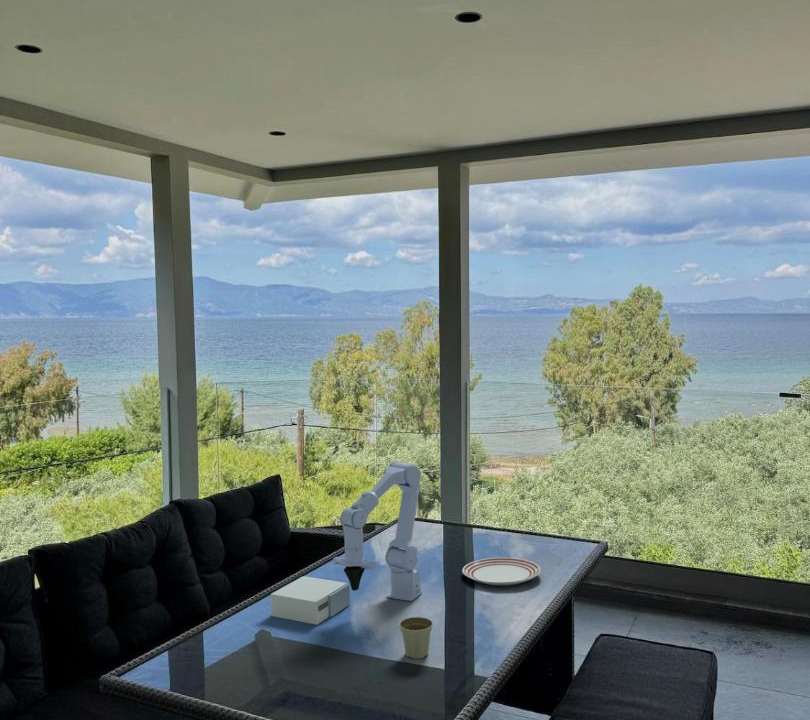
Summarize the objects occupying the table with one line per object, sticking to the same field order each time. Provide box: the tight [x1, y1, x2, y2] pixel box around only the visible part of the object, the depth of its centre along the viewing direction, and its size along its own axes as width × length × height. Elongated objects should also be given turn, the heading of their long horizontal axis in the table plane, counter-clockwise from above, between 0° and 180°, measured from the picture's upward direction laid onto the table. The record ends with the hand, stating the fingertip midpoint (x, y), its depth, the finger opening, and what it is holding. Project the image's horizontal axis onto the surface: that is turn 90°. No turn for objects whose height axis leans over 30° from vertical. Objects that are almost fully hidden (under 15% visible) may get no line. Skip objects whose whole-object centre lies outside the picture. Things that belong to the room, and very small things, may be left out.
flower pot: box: [398, 616, 434, 660], centre depth 211 cm, size 9×9×9 cm
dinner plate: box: [461, 557, 542, 587], centre depth 272 cm, size 28×27×3 cm
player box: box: [270, 575, 348, 626], centre depth 245 cm, size 17×18×7 cm
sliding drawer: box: [328, 583, 351, 618], centre depth 246 cm, size 10×11×7 cm
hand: (355, 589), depth 241 cm, fingers closed
